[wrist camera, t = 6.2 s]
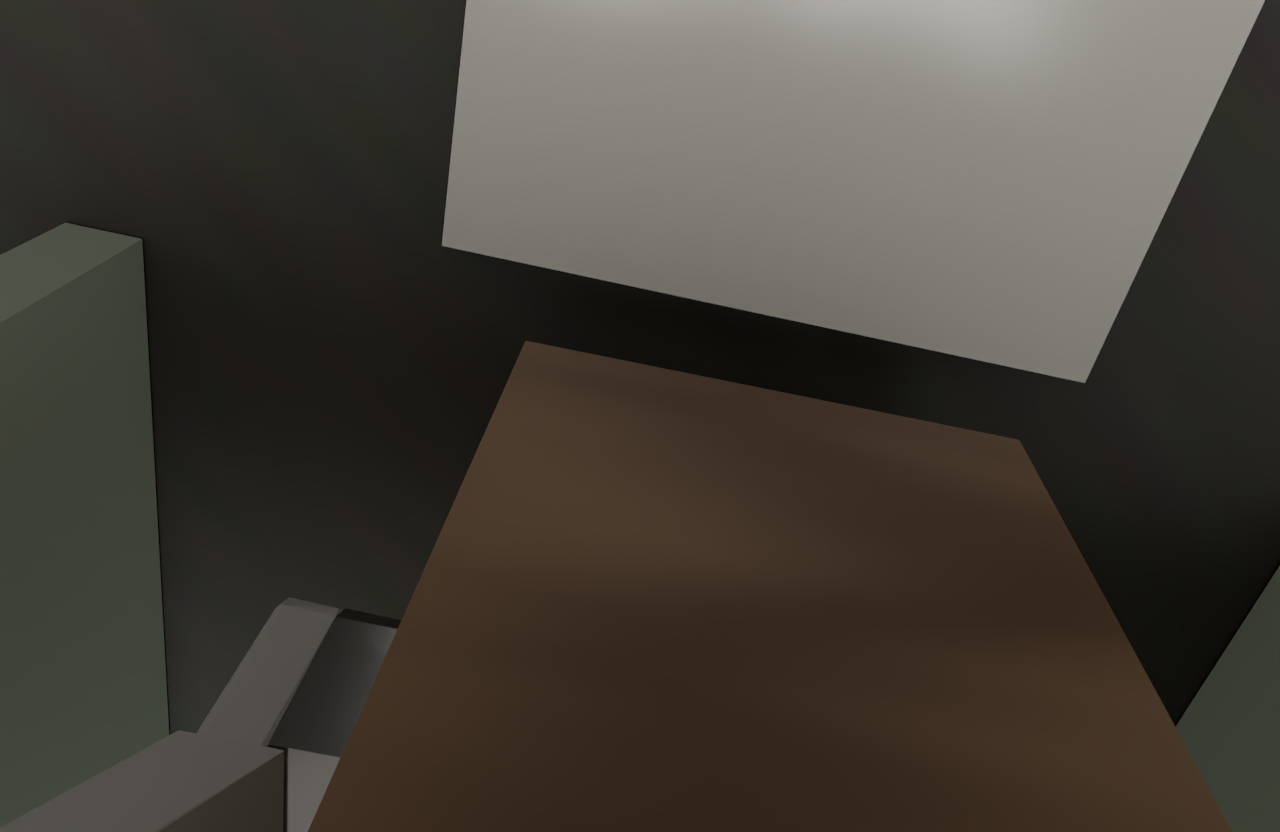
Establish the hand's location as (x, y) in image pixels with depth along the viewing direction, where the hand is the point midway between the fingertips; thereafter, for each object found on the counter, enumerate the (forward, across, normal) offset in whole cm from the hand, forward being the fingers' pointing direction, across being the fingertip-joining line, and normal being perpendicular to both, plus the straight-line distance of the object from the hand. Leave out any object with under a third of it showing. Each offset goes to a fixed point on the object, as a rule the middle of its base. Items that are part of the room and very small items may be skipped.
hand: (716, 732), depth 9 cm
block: (+2, 0, 0) cm, 2 cm away
